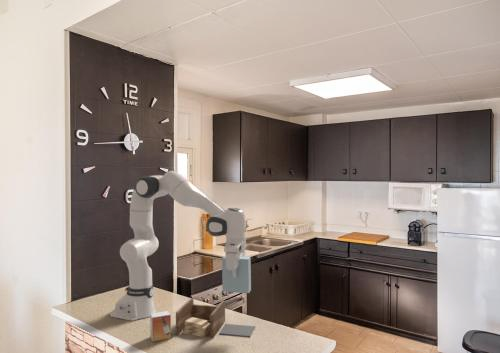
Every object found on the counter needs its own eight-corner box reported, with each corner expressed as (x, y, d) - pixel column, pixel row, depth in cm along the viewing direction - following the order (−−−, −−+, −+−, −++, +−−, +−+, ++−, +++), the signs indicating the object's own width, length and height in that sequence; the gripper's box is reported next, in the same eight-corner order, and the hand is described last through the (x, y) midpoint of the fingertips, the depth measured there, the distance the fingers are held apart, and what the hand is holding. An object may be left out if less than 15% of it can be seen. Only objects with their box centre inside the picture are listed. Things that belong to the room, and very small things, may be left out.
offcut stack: (182, 333, 162) (182, 321, 162) (190, 328, 168) (190, 316, 168) (204, 337, 158) (204, 325, 158) (211, 331, 164) (211, 319, 164)
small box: (152, 342, 154) (151, 317, 154) (150, 337, 159) (149, 313, 159) (171, 338, 157) (170, 314, 157) (168, 333, 162) (168, 310, 162)
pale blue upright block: (222, 291, 163) (222, 258, 162) (225, 288, 167) (224, 255, 167) (248, 293, 160) (248, 259, 160) (250, 289, 164) (250, 256, 164)
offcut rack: (176, 334, 161) (175, 312, 160) (191, 318, 178) (191, 298, 178) (213, 338, 157) (212, 315, 157) (225, 321, 174) (224, 300, 174)
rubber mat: (219, 334, 160) (219, 333, 160) (225, 324, 170) (225, 323, 170) (250, 337, 157) (250, 335, 157) (254, 327, 167) (254, 326, 167)
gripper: (235, 239, 174) (235, 268, 174) (222, 248, 154) (223, 281, 154) (248, 240, 173) (248, 269, 173) (237, 249, 153) (237, 282, 153)
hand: (236, 275), depth 163 cm, fingers closed on pale blue upright block, 4 cm apart
